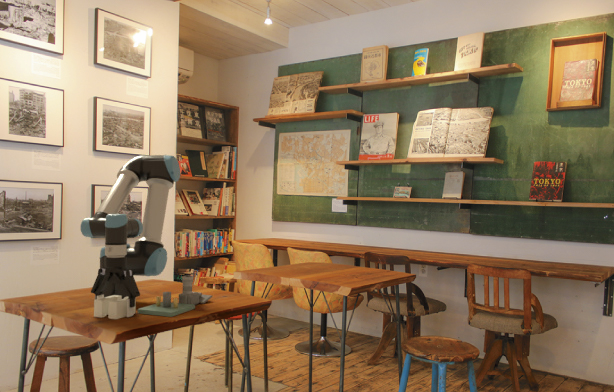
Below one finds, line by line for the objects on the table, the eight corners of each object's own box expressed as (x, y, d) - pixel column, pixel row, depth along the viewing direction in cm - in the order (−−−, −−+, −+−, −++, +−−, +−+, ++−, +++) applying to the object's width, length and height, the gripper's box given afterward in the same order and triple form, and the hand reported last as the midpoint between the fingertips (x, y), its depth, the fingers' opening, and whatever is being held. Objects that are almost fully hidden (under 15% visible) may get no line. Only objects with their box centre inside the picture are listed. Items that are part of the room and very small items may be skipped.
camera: (173, 276, 197) (195, 272, 211) (172, 306, 197) (195, 300, 211) (191, 278, 194) (213, 273, 208) (191, 308, 194) (212, 301, 207)
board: (137, 313, 184) (137, 294, 184) (162, 305, 198) (162, 287, 198) (171, 316, 179) (171, 297, 179) (194, 308, 193) (195, 290, 193)
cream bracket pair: (116, 319, 175) (116, 302, 175) (93, 316, 178) (94, 299, 178) (135, 313, 184) (135, 297, 184) (113, 310, 188) (114, 295, 188)
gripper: (81, 255, 182) (80, 313, 182) (136, 259, 173) (135, 320, 173) (96, 253, 189) (95, 309, 189) (150, 256, 180) (149, 315, 180)
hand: (114, 314), depth 181 cm, fingers open, 13 cm apart
